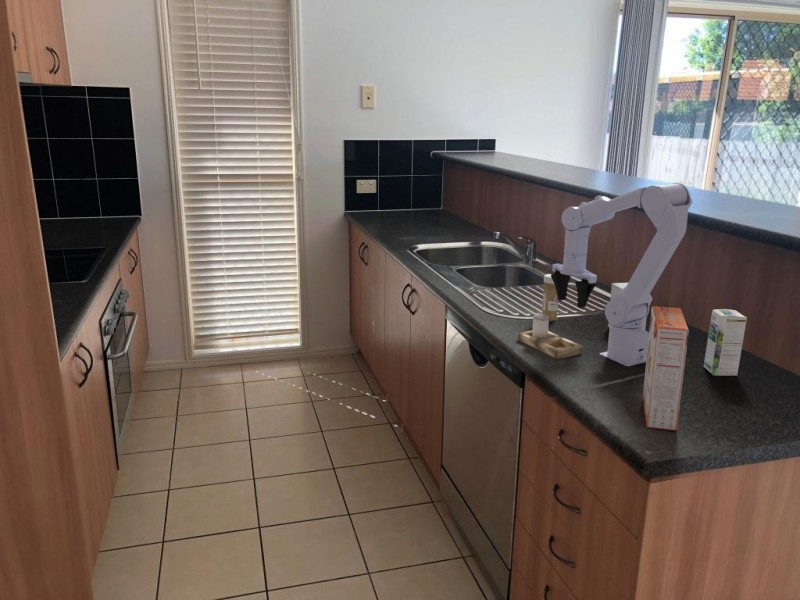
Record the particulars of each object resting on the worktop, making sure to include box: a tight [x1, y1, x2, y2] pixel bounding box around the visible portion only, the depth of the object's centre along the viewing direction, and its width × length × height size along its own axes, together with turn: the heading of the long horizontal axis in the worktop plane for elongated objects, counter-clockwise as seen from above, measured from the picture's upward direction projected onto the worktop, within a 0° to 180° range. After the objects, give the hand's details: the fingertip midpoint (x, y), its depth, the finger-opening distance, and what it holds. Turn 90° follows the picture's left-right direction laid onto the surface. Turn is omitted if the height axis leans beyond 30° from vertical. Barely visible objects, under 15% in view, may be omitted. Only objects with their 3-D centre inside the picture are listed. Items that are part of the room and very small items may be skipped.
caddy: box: [517, 330, 584, 360], centre depth 168 cm, size 16×8×2 cm, turn 28°
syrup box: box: [703, 308, 748, 377], centre depth 152 cm, size 6×6×14 cm
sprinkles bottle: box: [541, 273, 559, 322], centre depth 189 cm, size 5×5×14 cm
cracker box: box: [642, 305, 690, 432], centre depth 130 cm, size 14×6×21 cm, turn 163°
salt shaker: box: [532, 313, 550, 340], centre depth 171 cm, size 4×4×7 cm
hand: (571, 303), depth 173 cm, fingers open, 7 cm apart
